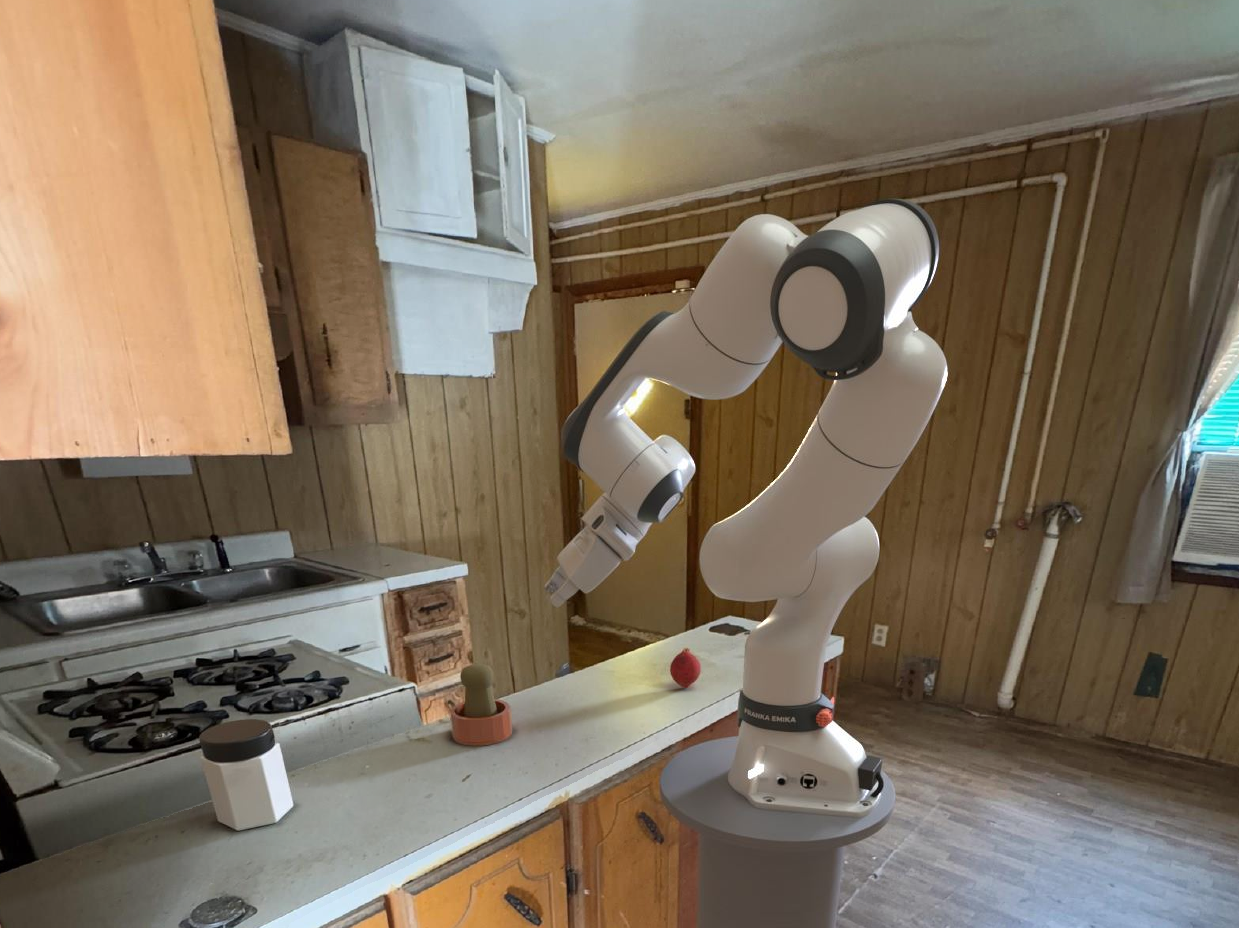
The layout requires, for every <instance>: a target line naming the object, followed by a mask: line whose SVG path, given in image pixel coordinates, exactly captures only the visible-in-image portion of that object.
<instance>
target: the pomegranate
mask: <svg viewBox="0 0 1239 928" xmlns="http://www.w3.org/2000/svg"><path fill="white" fill-rule="evenodd" d="M701 667H702V666H701V662H700V660H699V659H698V658H697V657H696V656H695V654H693V653H692V652H691V650H690V648H689V647H688V646H687V647H684V648H683V649H682V651H681V652H679V653H678V654H677V655H675V656H674V658H673V660H672V661H671V663H670V666H669V673H670V676H671V679H672V680H673V681H674V682H675V683H676V684H677V685H678V686H680V687H682V688H684V689H687V688H689V687H690V686H691V685H692V684H694V683H695V682H696V681H698V679H699V677H700V675H701V671H702V668H701Z"/></svg>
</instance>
